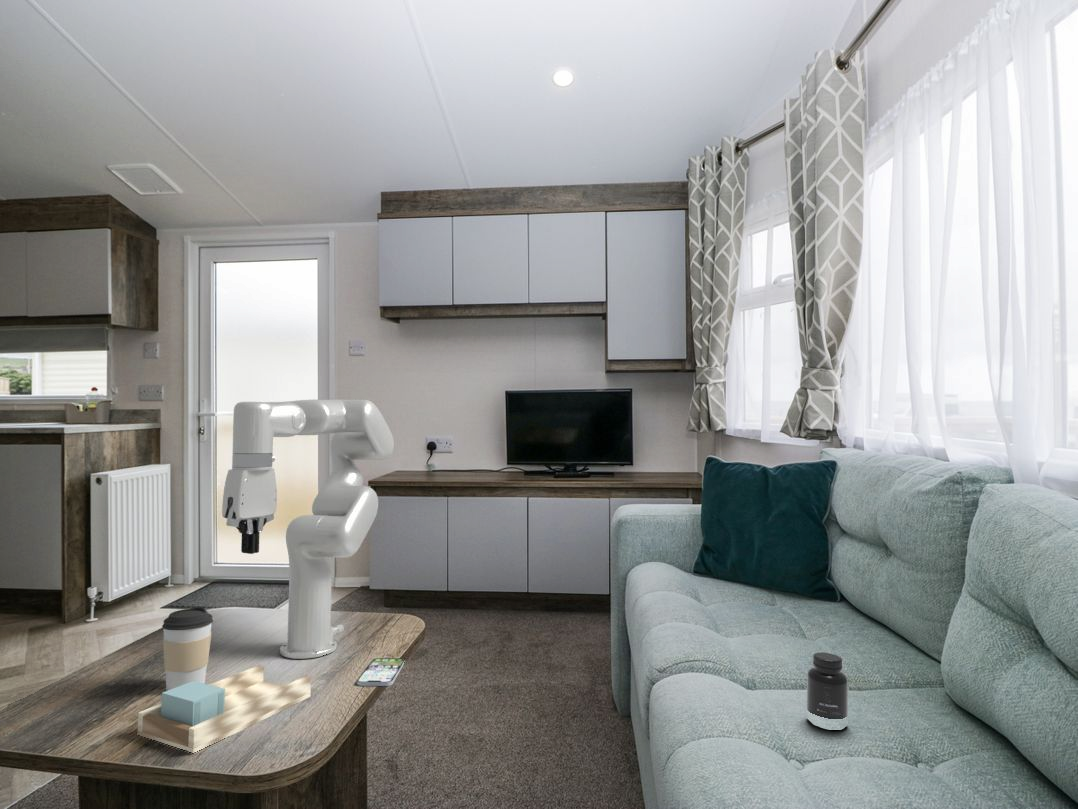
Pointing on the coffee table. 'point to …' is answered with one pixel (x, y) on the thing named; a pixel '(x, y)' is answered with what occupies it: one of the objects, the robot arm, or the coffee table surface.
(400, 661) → the smartphone
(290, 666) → the coffee table surface
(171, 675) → the coffee cup
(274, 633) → the coffee table surface
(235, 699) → the bay
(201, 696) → the light blue block
